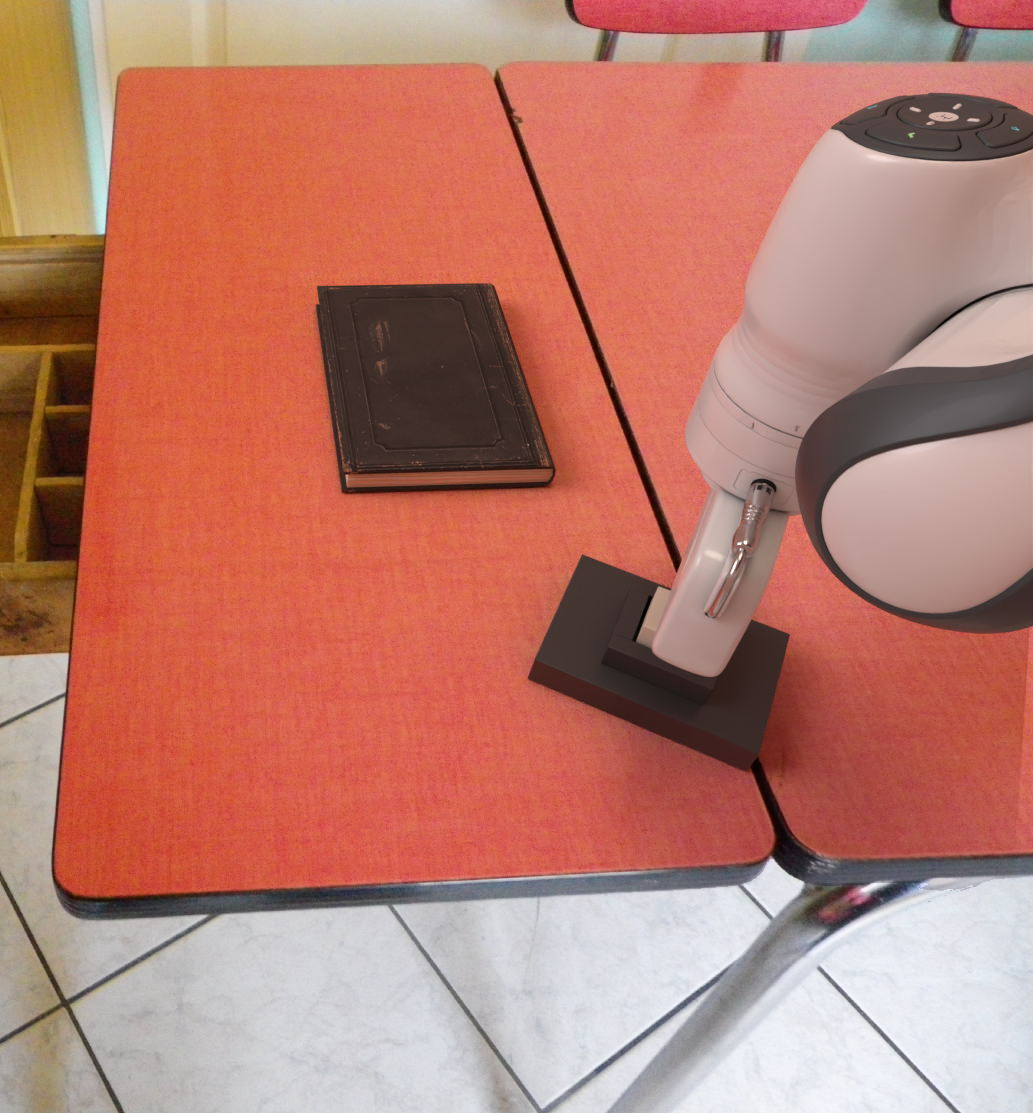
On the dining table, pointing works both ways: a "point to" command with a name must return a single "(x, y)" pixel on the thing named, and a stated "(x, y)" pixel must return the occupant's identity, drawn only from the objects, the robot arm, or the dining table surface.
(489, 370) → the hardcover book
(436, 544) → the dining table surface
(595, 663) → the near block
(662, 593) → the near key
